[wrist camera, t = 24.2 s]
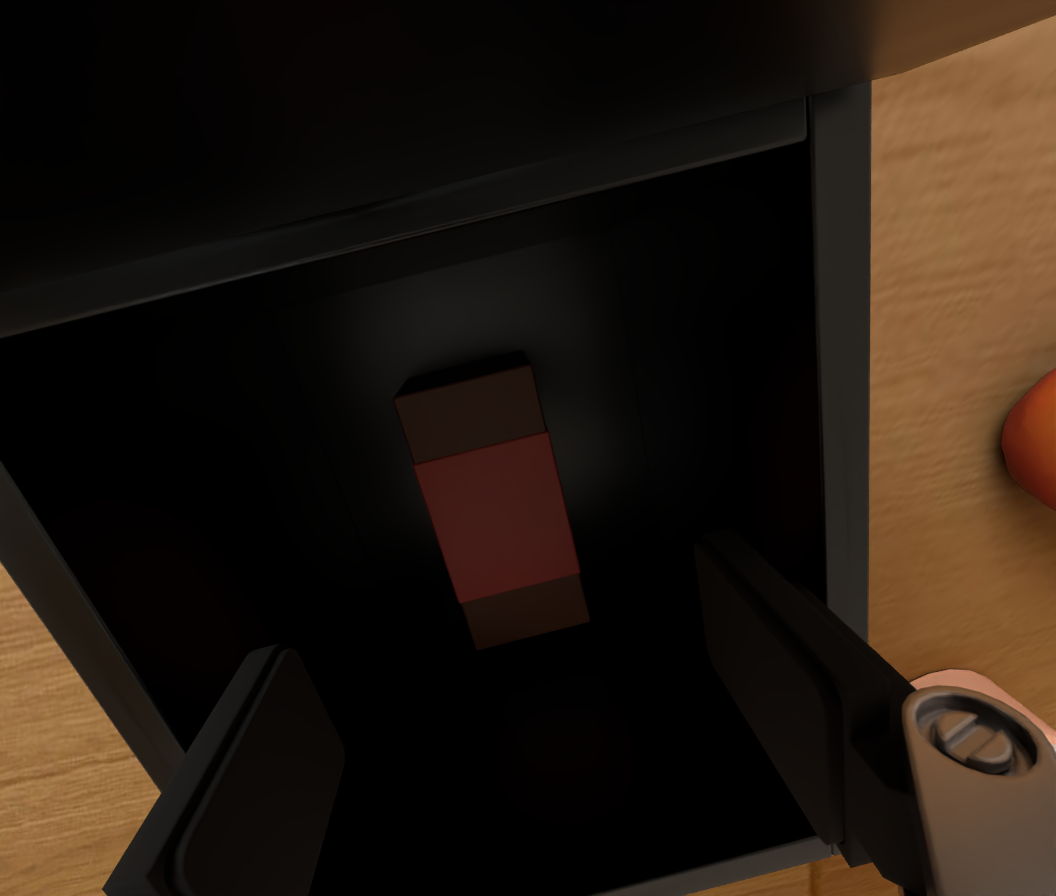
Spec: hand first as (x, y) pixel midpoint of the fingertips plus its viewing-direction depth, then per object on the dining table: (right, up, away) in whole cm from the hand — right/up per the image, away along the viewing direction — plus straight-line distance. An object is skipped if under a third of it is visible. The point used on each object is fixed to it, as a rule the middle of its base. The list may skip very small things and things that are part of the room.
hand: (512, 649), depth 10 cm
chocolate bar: (-1, +3, +8) cm, 9 cm away
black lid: (-1, +4, -11) cm, 12 cm away
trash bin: (-1, +4, +9) cm, 10 cm away
